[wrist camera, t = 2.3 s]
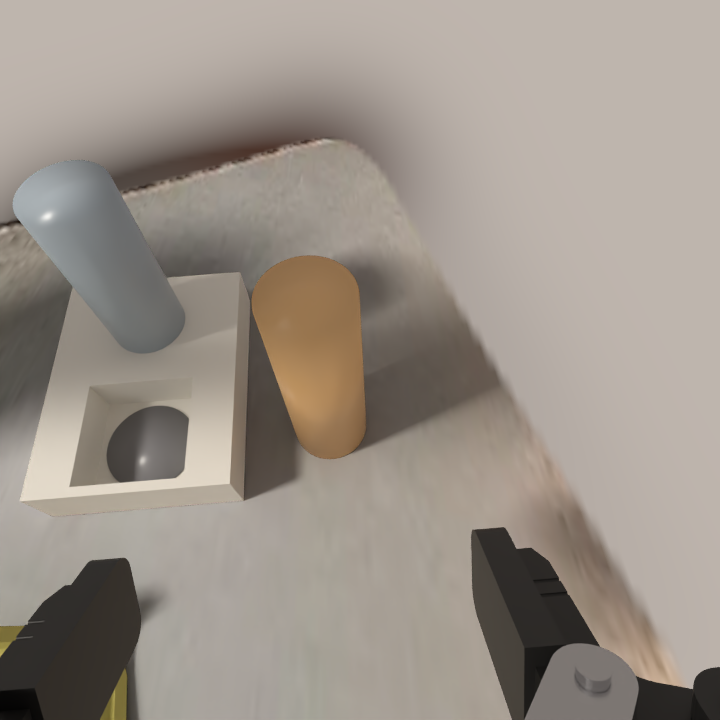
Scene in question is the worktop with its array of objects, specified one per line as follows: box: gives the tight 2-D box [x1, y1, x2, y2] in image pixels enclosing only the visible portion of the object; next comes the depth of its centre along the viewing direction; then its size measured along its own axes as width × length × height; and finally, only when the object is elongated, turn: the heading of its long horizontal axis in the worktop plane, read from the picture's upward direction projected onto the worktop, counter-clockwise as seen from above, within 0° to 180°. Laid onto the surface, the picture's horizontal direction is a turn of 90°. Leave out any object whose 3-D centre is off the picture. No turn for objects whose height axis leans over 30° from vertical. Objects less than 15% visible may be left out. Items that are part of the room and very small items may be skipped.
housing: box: [13, 160, 250, 517], centre depth 26 cm, size 13×10×13 cm
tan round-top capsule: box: [251, 256, 366, 459], centre depth 25 cm, size 4×4×12 cm
